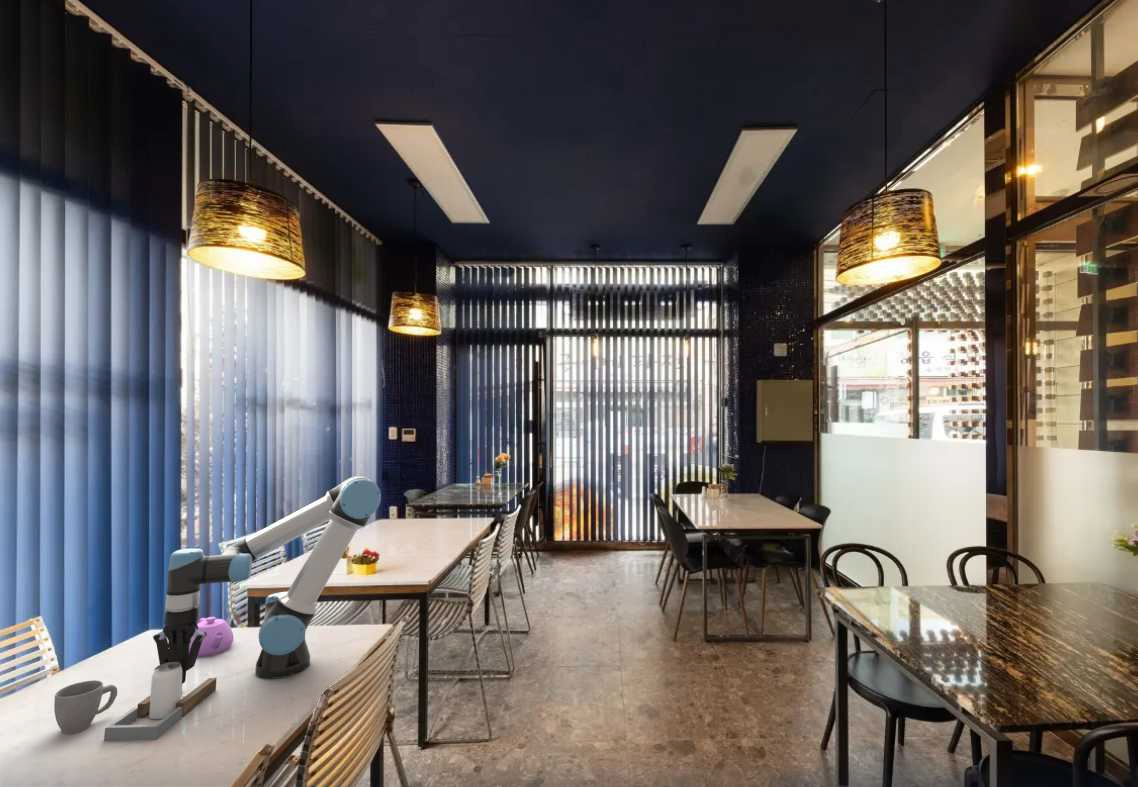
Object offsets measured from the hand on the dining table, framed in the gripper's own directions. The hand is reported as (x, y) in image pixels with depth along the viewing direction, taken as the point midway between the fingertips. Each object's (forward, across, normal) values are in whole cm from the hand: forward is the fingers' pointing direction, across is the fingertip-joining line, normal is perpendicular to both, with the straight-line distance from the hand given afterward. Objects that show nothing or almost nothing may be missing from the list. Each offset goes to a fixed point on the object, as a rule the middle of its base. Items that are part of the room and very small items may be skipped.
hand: (175, 696), depth 142 cm
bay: (+2, -1, +12) cm, 12 cm away
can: (+2, -1, +5) cm, 5 cm away
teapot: (+3, +13, -36) cm, 38 cm away
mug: (+3, +15, +10) cm, 18 cm away
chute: (+2, 0, -1) cm, 2 cm away
